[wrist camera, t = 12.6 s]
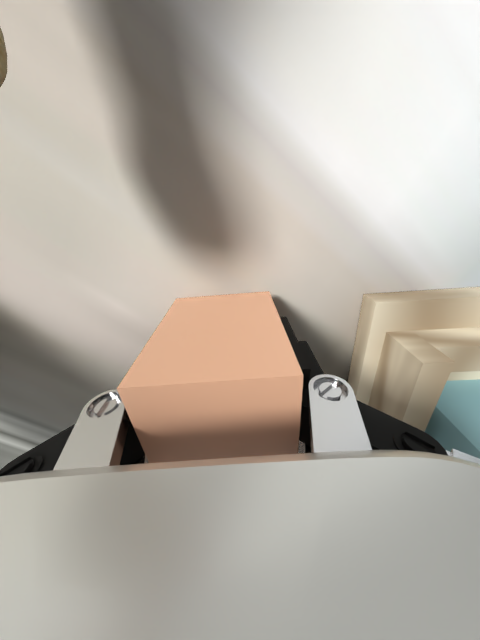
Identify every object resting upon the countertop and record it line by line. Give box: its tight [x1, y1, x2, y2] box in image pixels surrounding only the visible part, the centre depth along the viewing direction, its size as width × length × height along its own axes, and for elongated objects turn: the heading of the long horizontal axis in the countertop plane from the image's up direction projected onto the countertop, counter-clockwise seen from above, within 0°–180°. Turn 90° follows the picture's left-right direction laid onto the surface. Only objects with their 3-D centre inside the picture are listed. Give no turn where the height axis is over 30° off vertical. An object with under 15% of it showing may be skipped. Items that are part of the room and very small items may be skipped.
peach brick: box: [117, 291, 304, 463], centre depth 9 cm, size 4×5×6 cm
